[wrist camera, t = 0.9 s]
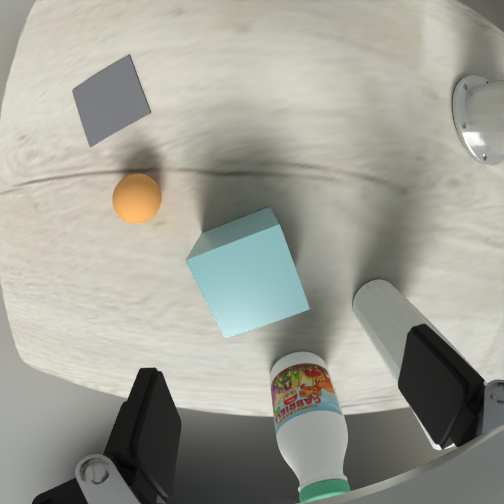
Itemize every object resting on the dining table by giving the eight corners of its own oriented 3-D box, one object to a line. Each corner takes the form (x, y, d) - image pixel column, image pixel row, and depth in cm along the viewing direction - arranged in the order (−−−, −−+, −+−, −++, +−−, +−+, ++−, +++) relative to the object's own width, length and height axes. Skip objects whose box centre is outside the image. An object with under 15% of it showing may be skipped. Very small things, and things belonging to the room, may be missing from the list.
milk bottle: (337, 365, 37) (383, 487, 18) (298, 398, 38) (322, 518, 19) (296, 339, 35) (331, 479, 16) (257, 376, 37) (265, 510, 18)
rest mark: (129, 55, 25) (129, 55, 24) (150, 113, 27) (150, 112, 27) (73, 90, 25) (72, 90, 25) (90, 147, 28) (90, 147, 27)
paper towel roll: (348, 286, 33) (441, 421, 13) (392, 271, 33) (507, 380, 12) (355, 334, 35) (425, 468, 15) (396, 319, 35) (484, 434, 14)
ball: (156, 164, 29) (140, 165, 24) (174, 207, 30) (161, 216, 25) (117, 184, 29) (96, 189, 24) (135, 225, 30) (117, 236, 26)
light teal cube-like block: (270, 206, 30) (279, 224, 22) (294, 271, 32) (309, 309, 24) (201, 233, 31) (185, 260, 22) (229, 294, 33) (224, 338, 25)
